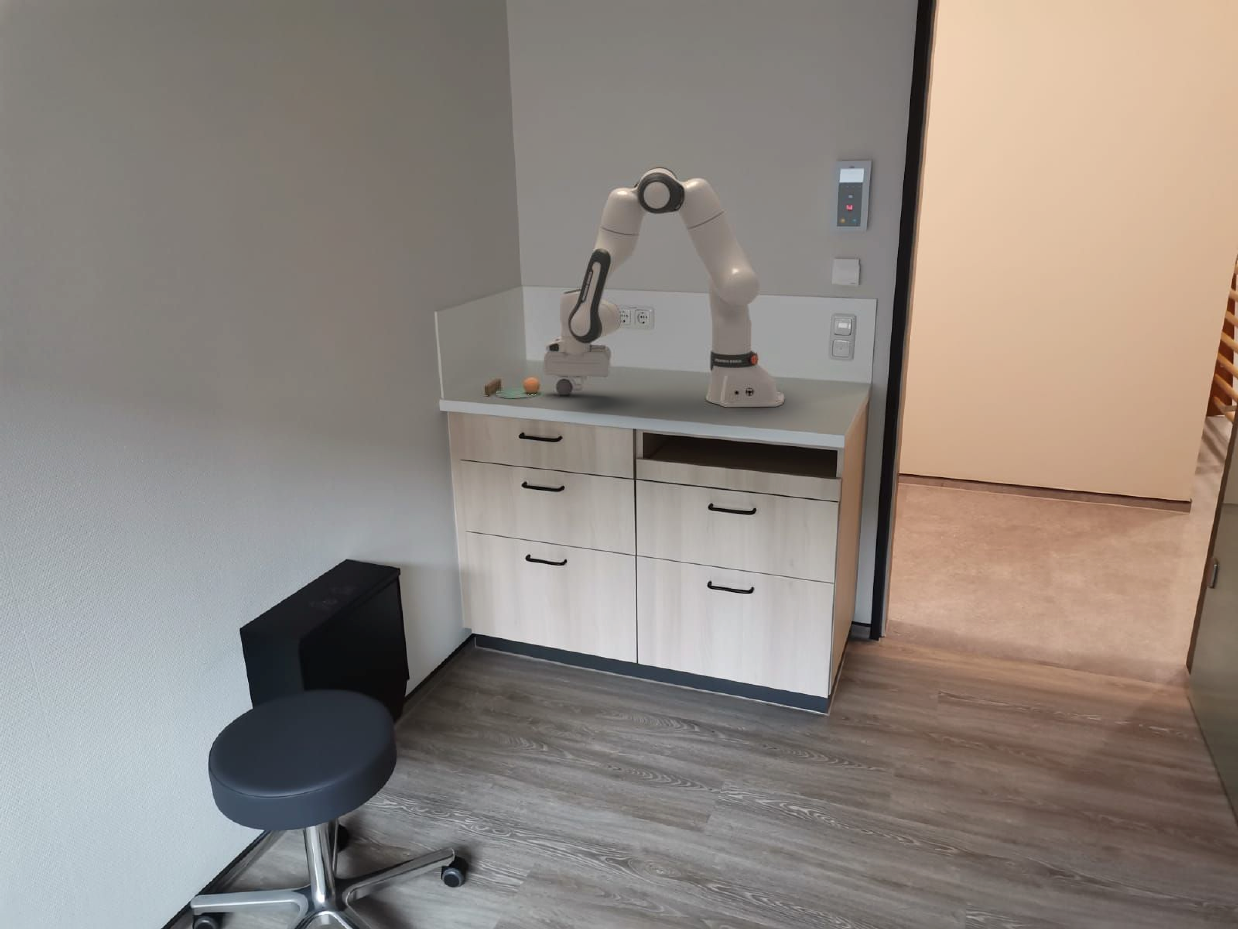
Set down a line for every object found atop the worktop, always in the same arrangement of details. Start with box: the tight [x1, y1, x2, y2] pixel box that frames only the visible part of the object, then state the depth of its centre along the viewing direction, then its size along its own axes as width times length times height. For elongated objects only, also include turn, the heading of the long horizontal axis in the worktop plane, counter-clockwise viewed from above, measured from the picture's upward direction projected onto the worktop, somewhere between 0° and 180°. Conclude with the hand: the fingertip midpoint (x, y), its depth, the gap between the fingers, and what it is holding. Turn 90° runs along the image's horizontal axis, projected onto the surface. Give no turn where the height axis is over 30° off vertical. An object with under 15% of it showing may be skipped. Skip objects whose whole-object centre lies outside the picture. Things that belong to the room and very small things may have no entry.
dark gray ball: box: [555, 378, 573, 396], centre depth 275 cm, size 5×5×5 cm
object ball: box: [522, 376, 541, 394], centre depth 277 cm, size 5×5×5 cm
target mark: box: [494, 386, 542, 399], centre depth 279 cm, size 14×14×1 cm
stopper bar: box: [484, 378, 502, 397], centre depth 280 cm, size 2×10×3 cm, turn 167°
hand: (577, 390), depth 274 cm, fingers closed
